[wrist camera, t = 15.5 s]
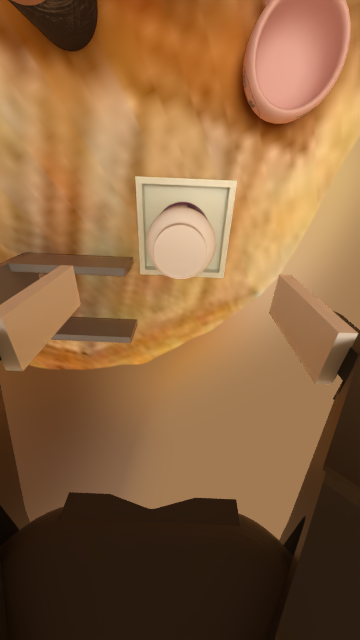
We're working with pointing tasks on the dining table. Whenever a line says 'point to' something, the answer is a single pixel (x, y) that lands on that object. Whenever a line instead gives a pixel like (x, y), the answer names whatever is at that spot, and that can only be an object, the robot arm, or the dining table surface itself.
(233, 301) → the dining table surface
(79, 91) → the dining table surface
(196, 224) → the pill bottle
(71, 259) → the bay
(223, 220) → the tray
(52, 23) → the travel mug
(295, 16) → the mug
